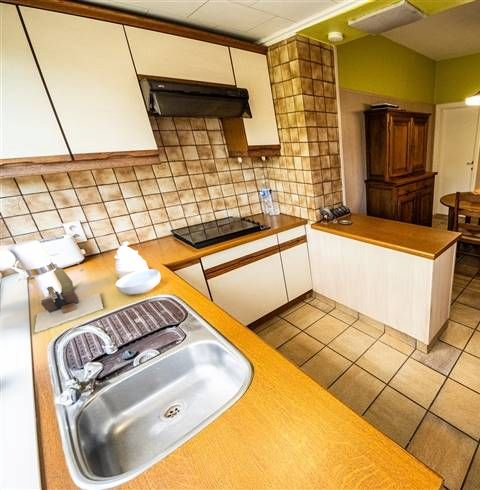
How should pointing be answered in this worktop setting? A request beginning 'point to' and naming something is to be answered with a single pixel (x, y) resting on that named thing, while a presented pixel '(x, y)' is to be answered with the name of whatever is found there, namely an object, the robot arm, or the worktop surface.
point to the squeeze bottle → (63, 279)
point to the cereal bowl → (139, 281)
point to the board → (57, 317)
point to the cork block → (68, 308)
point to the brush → (69, 297)
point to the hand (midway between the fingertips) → (63, 305)
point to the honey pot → (128, 261)
